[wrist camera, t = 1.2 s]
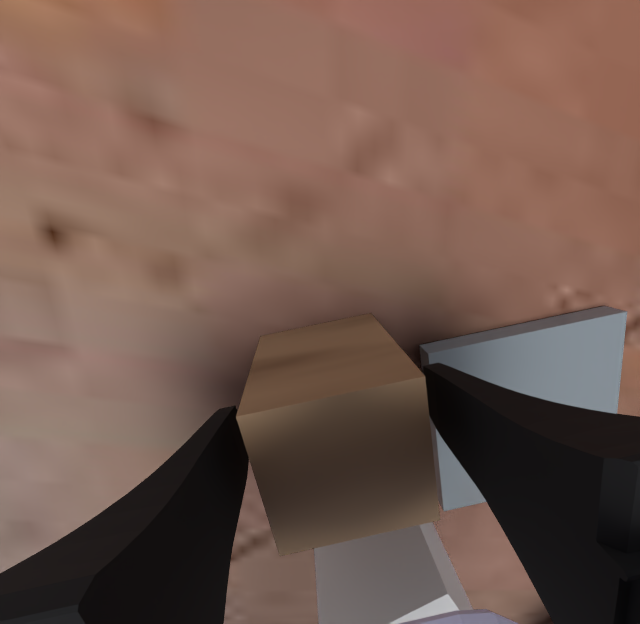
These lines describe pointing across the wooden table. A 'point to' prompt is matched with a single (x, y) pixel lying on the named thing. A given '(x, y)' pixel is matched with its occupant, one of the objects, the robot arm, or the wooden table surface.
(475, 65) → the wooden table surface
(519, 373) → the coaster
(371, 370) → the walnut block
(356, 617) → the grey block
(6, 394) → the wooden table surface
